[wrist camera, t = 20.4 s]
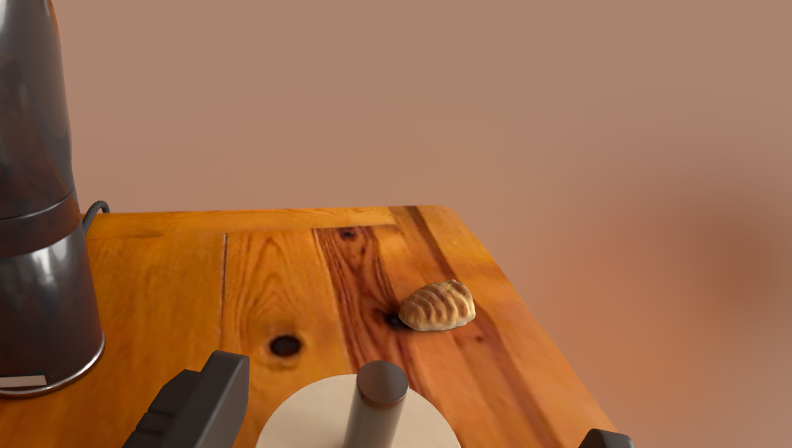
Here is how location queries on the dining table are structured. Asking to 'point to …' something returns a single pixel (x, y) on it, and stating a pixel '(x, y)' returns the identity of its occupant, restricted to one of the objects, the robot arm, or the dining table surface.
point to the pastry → (438, 307)
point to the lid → (358, 414)
